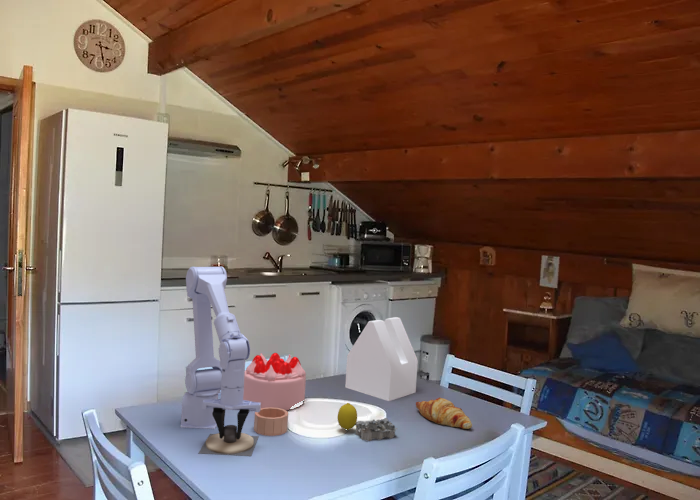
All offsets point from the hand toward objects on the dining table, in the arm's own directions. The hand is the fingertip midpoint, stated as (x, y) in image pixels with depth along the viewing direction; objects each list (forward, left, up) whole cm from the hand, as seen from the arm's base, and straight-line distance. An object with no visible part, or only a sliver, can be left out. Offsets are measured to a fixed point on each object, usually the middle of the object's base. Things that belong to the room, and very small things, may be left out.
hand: (230, 437), depth 153 cm
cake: (+7, +37, -2) cm, 38 cm away
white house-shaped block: (+42, +56, -3) cm, 70 cm away
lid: (0, 0, -2) cm, 2 cm away
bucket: (+9, +12, -2) cm, 15 cm away
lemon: (+30, +15, -2) cm, 34 cm away
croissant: (+59, +28, -3) cm, 65 cm away
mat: (0, 0, -2) cm, 2 cm away
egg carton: (+38, +13, -3) cm, 40 cm away
